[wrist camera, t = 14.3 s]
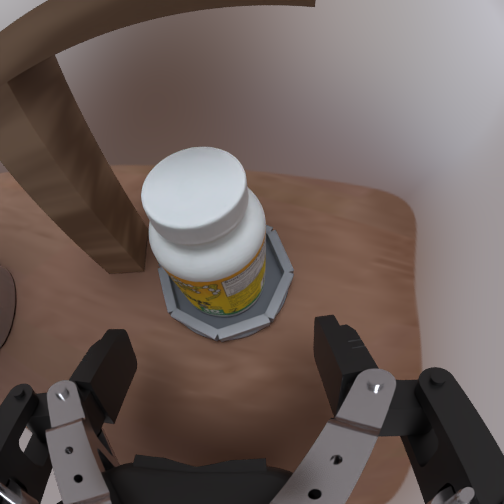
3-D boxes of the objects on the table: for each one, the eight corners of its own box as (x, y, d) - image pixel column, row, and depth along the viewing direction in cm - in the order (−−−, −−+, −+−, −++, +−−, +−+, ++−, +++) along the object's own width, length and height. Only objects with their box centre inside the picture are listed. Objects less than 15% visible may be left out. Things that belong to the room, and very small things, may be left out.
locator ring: (145, 304, 18) (136, 298, 17) (203, 210, 22) (200, 198, 20) (256, 362, 16) (255, 360, 15) (306, 250, 20) (310, 240, 18)
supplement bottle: (281, 281, 18) (298, 183, 10) (219, 336, 17) (174, 281, 8) (228, 229, 20) (207, 119, 12) (168, 276, 19) (104, 187, 10)
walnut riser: (283, 259, 19) (318, -52, 3) (109, 273, 19) (-53, 80, 3) (277, 217, 21) (291, -52, 5) (115, 233, 21) (-7, 39, 5)
